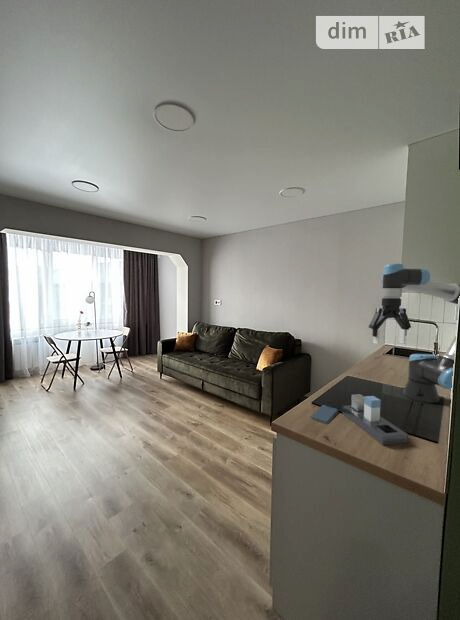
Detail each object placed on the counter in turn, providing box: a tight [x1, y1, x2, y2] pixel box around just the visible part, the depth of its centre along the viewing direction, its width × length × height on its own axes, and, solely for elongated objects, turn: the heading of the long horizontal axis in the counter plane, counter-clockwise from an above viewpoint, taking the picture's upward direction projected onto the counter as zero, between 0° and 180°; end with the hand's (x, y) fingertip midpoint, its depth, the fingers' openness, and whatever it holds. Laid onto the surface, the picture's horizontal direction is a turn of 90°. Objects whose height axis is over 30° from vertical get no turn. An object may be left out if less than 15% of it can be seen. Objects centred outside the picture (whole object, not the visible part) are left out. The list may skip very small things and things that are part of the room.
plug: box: [364, 395, 382, 422], centre depth 101 cm, size 4×4×12 cm
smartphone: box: [310, 404, 339, 425], centre depth 111 cm, size 8×2×15 cm
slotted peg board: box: [341, 393, 408, 446], centre depth 102 cm, size 10×24×9 cm, turn 9°
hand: (389, 343), depth 115 cm, fingers open, 13 cm apart
